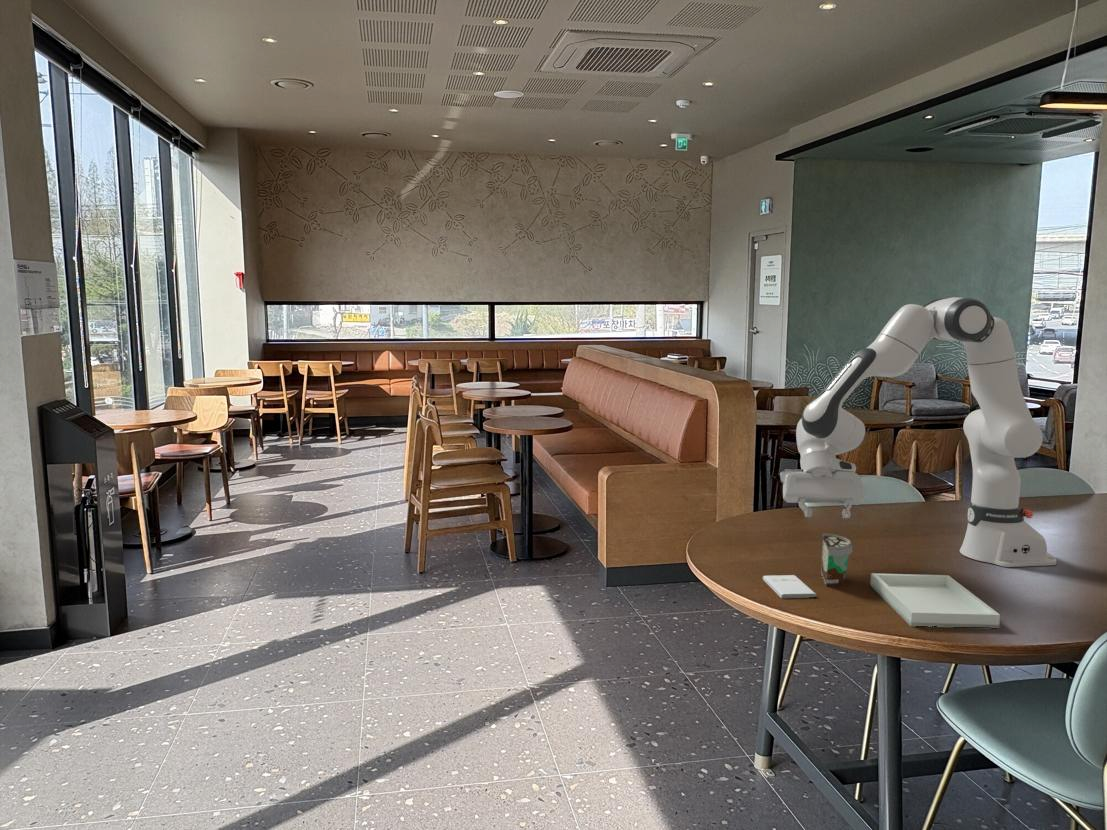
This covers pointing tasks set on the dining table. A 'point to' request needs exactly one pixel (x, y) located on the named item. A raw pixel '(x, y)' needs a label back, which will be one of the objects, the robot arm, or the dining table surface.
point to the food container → (835, 559)
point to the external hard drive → (788, 586)
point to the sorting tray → (933, 601)
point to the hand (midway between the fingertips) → (827, 516)
